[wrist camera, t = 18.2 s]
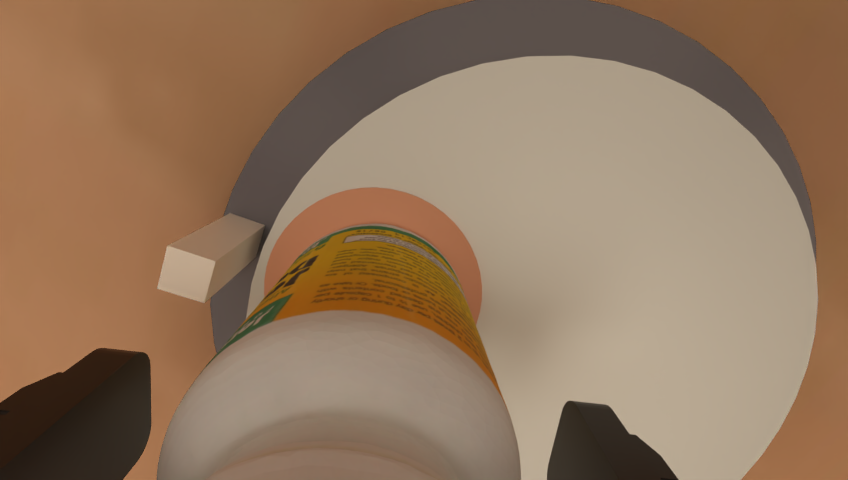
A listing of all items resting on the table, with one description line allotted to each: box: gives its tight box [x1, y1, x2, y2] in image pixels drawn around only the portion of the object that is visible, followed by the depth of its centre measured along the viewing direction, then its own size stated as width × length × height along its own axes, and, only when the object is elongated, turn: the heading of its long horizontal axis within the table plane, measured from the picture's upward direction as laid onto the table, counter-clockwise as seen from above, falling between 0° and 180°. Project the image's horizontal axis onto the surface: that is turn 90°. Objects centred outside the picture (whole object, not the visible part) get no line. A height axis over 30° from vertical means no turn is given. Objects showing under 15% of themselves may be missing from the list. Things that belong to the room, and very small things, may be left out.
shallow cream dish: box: [246, 56, 818, 480], centre depth 14 cm, size 18×18×5 cm
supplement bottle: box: [157, 224, 521, 480], centre depth 9 cm, size 5×5×10 cm
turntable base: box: [157, 0, 816, 353], centre depth 15 cm, size 22×22×5 cm
